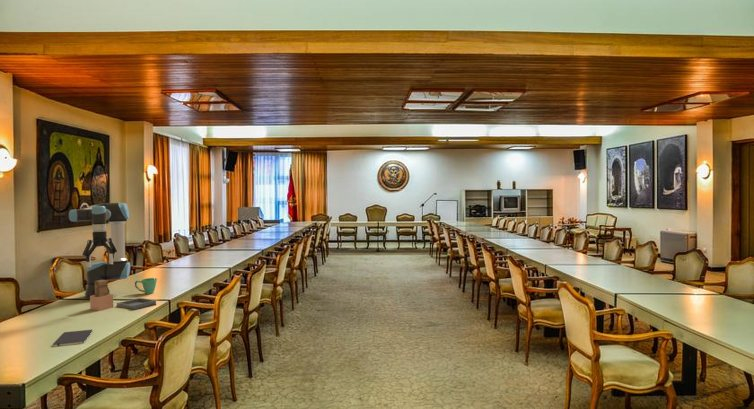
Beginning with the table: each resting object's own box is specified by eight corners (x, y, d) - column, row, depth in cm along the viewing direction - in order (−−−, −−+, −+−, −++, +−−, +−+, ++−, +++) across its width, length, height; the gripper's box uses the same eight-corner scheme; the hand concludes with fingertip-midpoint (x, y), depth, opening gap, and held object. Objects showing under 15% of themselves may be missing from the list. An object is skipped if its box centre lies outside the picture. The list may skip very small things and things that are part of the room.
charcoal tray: (116, 307, 304) (116, 303, 304) (140, 302, 318) (139, 297, 318) (132, 310, 297) (132, 305, 296) (156, 305, 311) (155, 300, 310)
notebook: (83, 344, 234) (92, 332, 254) (83, 341, 234) (92, 329, 254) (52, 347, 229) (64, 335, 249) (52, 344, 229) (64, 332, 249)
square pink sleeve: (90, 310, 298) (89, 295, 298) (104, 307, 306) (104, 293, 306) (99, 312, 294) (98, 297, 294) (113, 308, 302) (113, 294, 302)
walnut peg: (95, 308, 299) (94, 281, 299) (103, 306, 304) (102, 279, 303) (100, 309, 297) (99, 281, 296) (108, 307, 301) (107, 280, 301)
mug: (158, 291, 353) (158, 277, 352) (155, 294, 343) (154, 280, 343) (137, 292, 350) (136, 278, 350) (132, 295, 340) (132, 281, 340)
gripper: (82, 233, 286) (83, 268, 286) (122, 229, 308) (123, 263, 308) (75, 232, 290) (76, 268, 290) (115, 229, 311) (116, 262, 312)
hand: (100, 265), depth 299 cm, fingers open, 13 cm apart
